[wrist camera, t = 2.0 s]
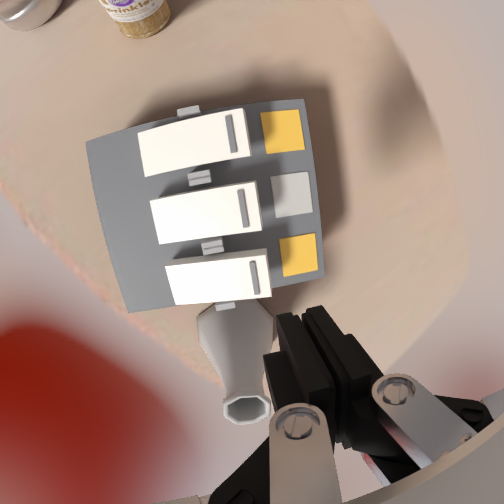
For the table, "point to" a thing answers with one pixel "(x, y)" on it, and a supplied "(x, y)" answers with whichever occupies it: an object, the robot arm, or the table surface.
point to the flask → (239, 356)
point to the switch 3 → (220, 277)
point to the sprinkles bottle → (138, 16)
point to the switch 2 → (207, 212)
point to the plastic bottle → (27, 13)
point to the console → (206, 176)
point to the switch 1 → (195, 142)
